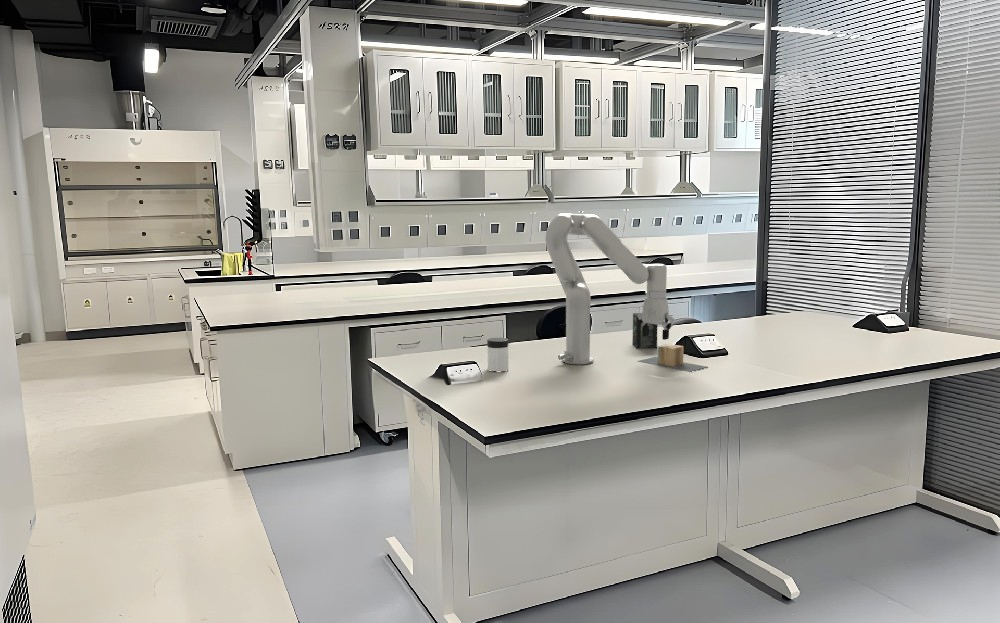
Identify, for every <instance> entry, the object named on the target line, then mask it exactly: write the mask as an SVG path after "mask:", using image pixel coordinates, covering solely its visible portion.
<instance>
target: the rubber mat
mask: <svg viewBox="0 0 1000 623" xmlns="http://www.w3.org/2000/svg"><path fill="white" fill-rule="evenodd" d="M637 362H638V363H643V364H647V365H653V366H658V367H662V368H663V367H664V368H668V369H673V370H677V371H684V372H687V373H688V372H691V373H693V372H692V371H695V372H697V371H696V370H698V371H701V370H700V369H702V370H705V369H704V368H706V369H708V368H709V367H708V366H704V365H700V364H695V363H689V362H684V361H683V364H681V365H677V366H673V367H672V366H667V365H662V364H658V356H653V357H647V358H644V359H641V360H636V363H637Z"/></svg>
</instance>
